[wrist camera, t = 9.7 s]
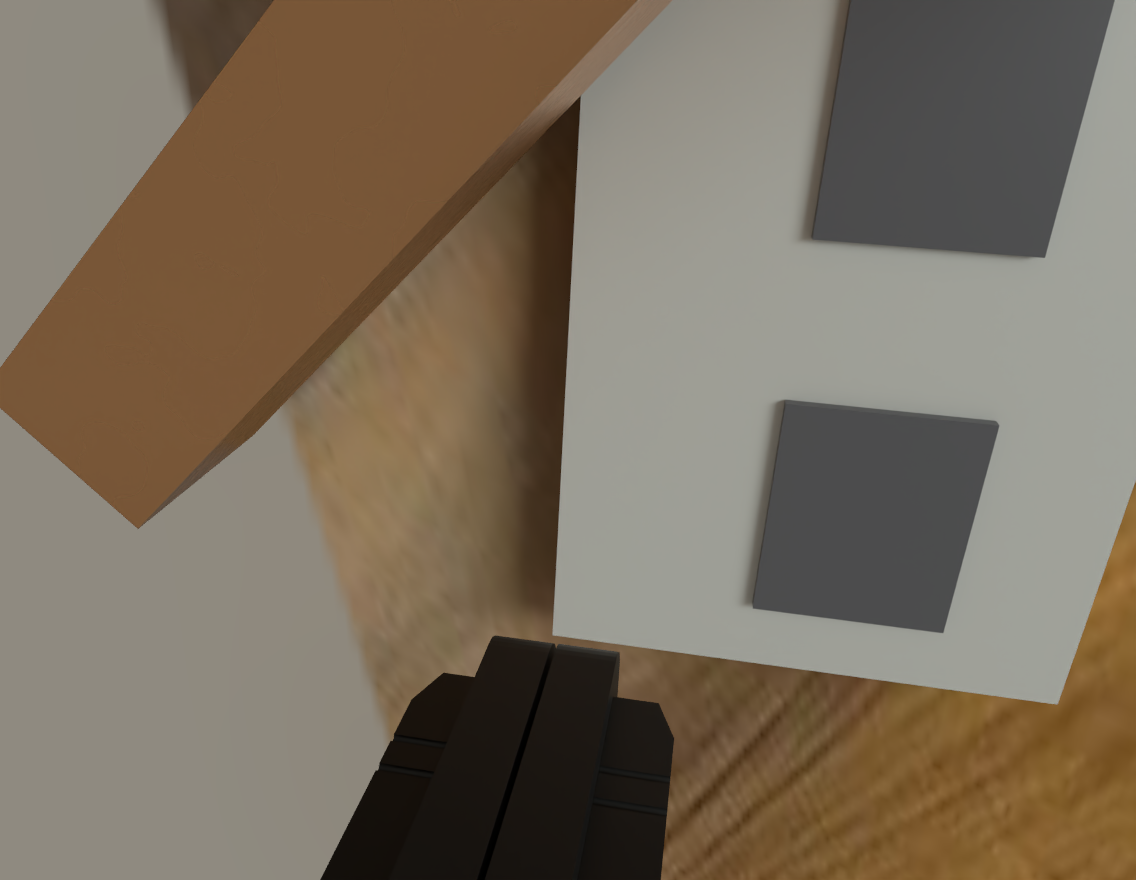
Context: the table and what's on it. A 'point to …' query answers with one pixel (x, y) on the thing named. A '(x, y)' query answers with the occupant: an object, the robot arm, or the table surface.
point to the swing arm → (290, 221)
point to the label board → (854, 337)
